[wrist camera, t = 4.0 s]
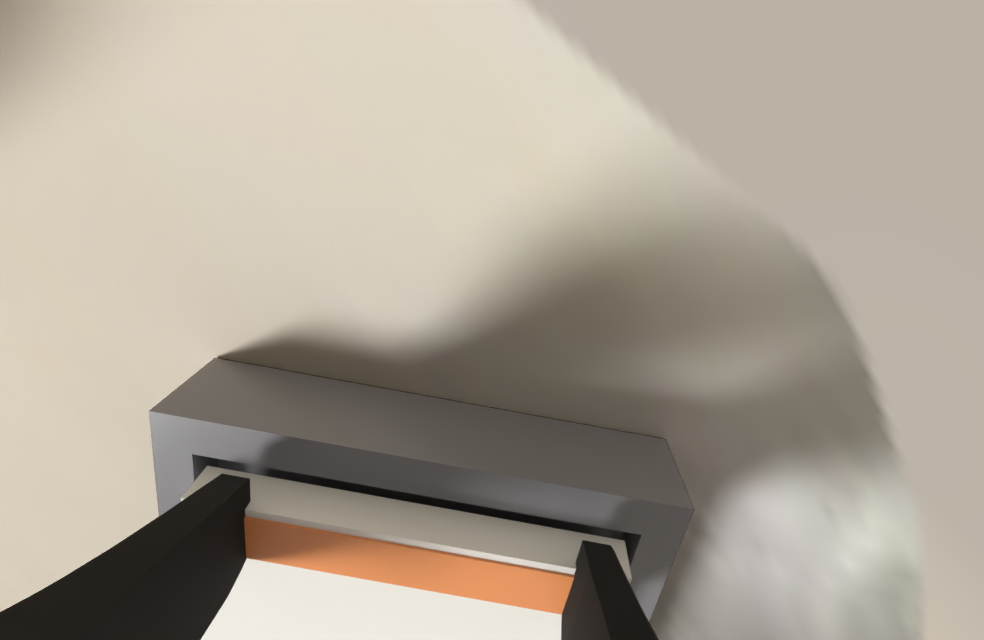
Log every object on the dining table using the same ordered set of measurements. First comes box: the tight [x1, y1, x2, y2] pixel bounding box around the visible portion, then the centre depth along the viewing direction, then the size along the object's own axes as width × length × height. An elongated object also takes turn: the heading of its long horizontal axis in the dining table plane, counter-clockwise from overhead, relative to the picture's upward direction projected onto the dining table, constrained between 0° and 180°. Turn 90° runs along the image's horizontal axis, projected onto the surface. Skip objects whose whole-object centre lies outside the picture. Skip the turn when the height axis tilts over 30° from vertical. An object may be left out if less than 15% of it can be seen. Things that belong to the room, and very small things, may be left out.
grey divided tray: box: [149, 358, 694, 621], centre depth 16 cm, size 12×15×3 cm
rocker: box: [181, 466, 632, 640], centre depth 13 cm, size 10×5×1 cm, turn 80°
